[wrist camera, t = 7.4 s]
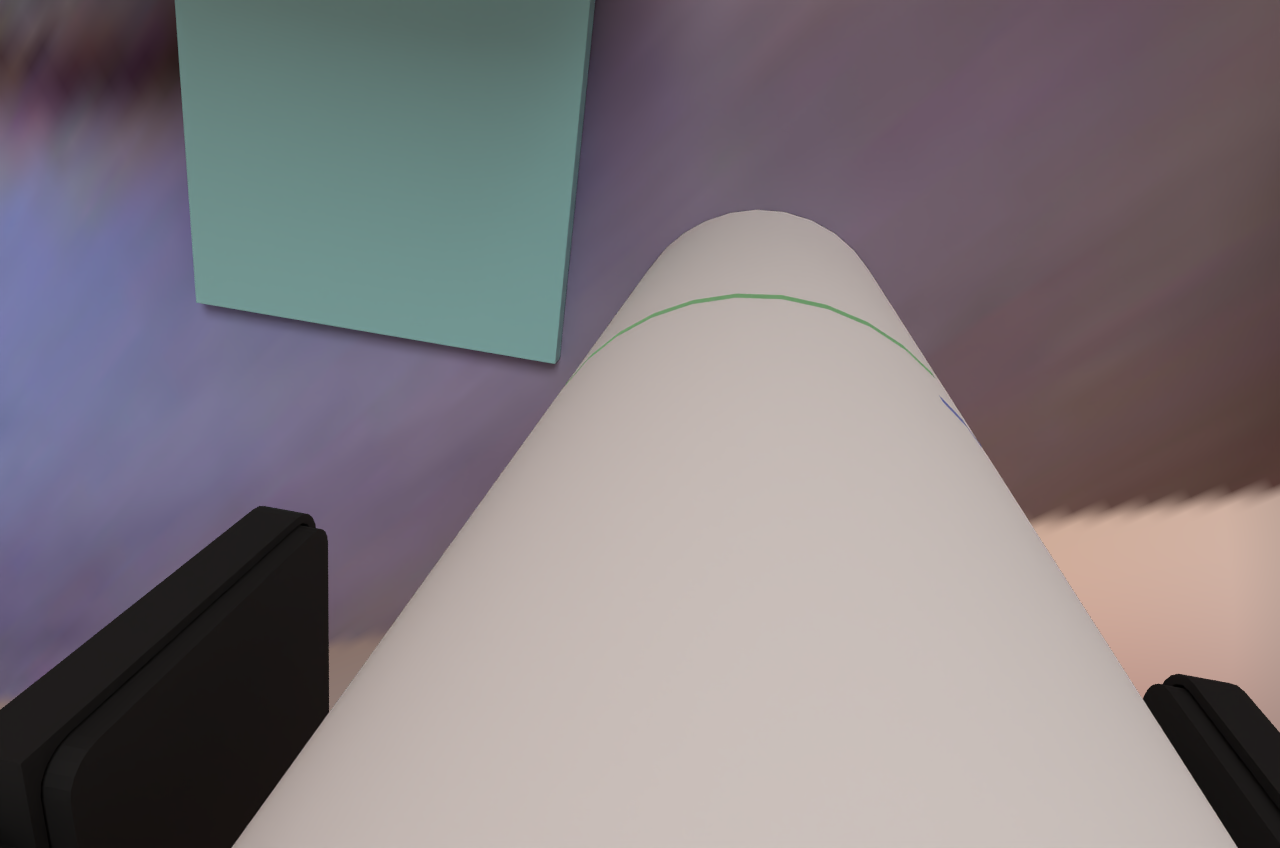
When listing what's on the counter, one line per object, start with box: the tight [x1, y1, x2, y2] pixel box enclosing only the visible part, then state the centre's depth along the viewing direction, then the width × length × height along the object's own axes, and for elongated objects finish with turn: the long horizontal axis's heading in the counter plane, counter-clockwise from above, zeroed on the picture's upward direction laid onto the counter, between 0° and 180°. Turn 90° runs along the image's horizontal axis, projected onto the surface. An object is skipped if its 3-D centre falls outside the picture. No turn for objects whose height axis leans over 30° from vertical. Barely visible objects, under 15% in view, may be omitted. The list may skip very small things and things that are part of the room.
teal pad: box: [175, 0, 595, 364], centre depth 22 cm, size 11×11×1 cm
